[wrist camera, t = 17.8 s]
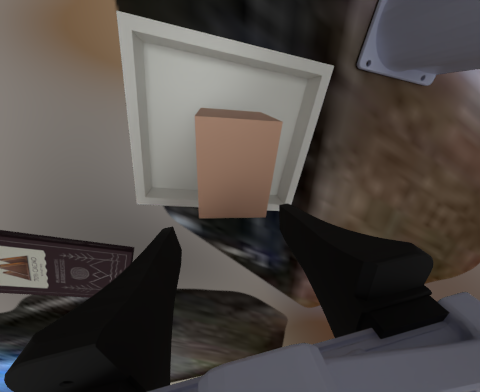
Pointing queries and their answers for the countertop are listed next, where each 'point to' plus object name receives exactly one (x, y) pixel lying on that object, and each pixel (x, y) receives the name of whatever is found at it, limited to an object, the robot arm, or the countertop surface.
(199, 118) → the carton
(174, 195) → the tray
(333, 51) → the countertop surface
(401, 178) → the countertop surface
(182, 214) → the countertop surface
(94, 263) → the chocolate bar
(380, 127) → the countertop surface
